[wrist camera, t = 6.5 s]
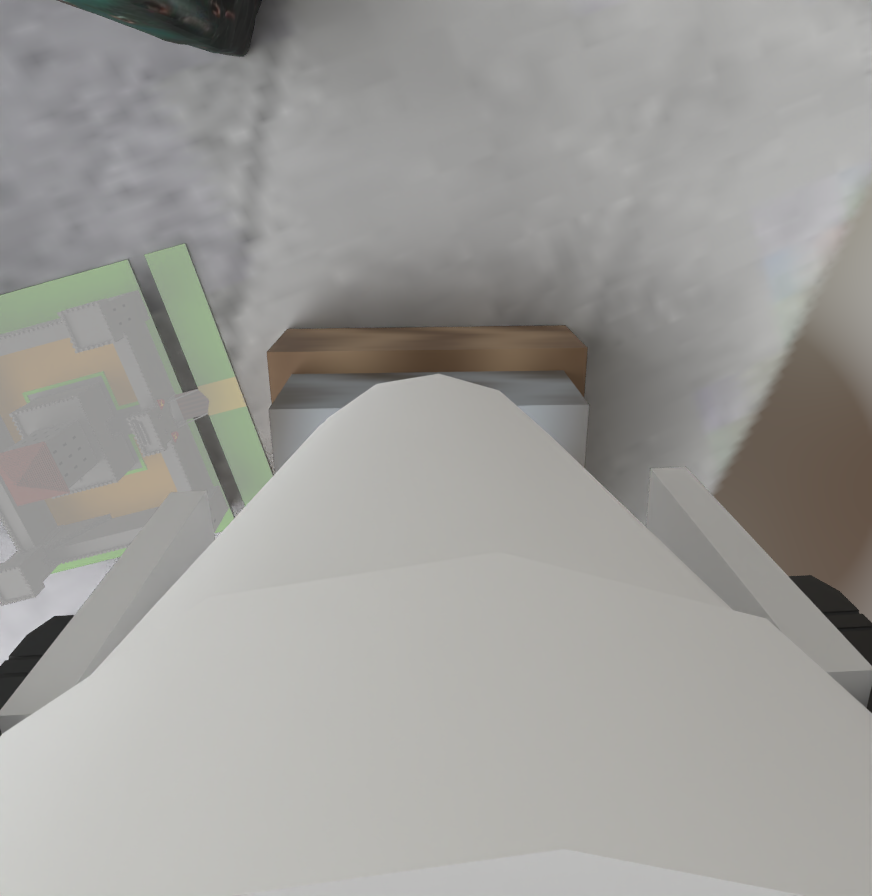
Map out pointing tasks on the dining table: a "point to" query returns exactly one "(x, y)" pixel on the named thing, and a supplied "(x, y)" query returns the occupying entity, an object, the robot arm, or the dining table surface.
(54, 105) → the dining table surface
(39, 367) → the castle model
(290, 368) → the block tower
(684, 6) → the dining table surface
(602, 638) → the foam cup
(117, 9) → the green elephant statue
